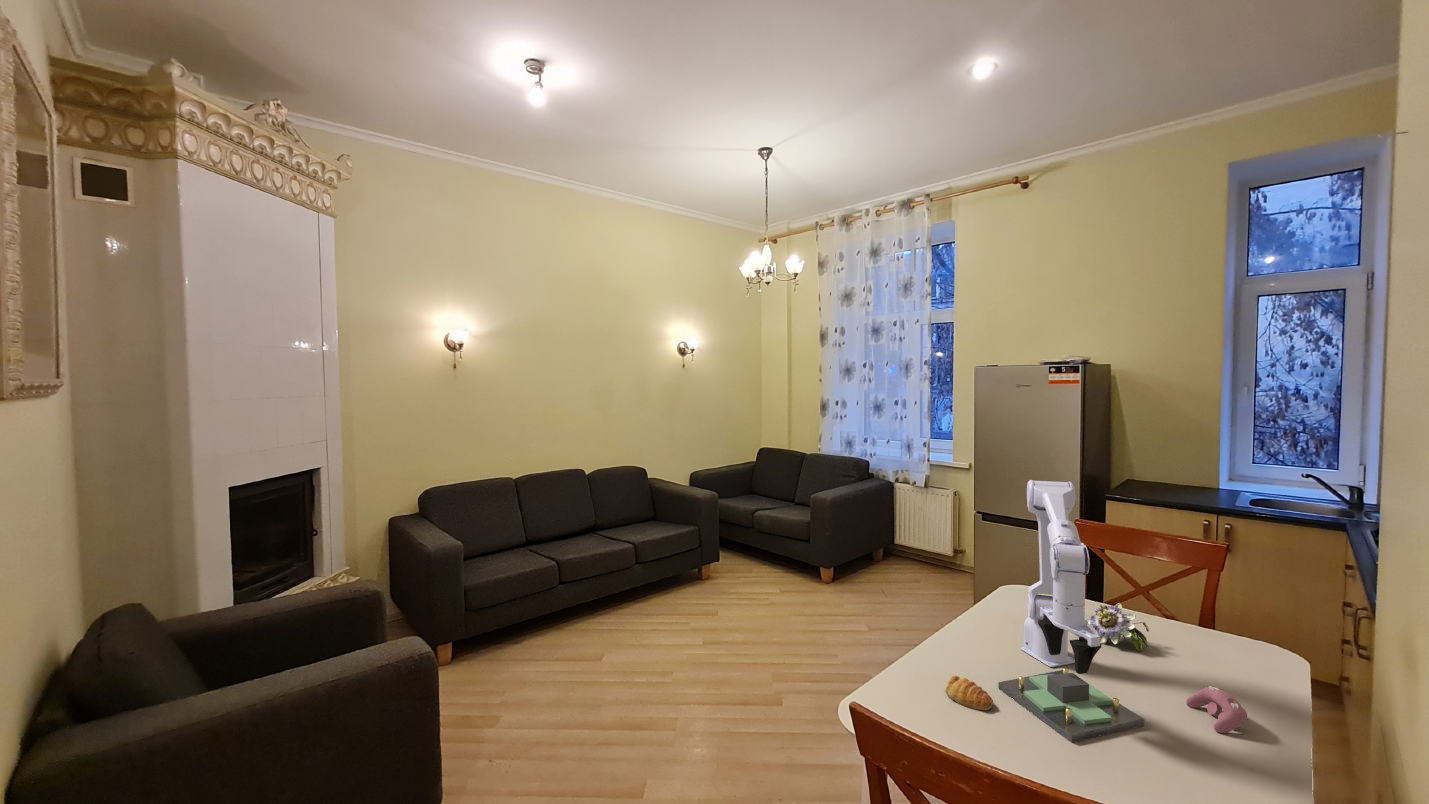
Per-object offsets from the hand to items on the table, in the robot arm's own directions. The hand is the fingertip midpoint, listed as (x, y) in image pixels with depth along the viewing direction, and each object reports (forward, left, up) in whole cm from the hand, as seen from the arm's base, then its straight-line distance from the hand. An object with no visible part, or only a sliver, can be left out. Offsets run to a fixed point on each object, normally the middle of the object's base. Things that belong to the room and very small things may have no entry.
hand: (1067, 663), depth 118 cm
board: (0, 0, -8) cm, 8 cm away
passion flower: (-19, +36, -10) cm, 42 cm away
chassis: (0, 0, -9) cm, 9 cm away
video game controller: (+12, +24, -10) cm, 29 cm away
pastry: (-8, -18, -10) cm, 22 cm away
